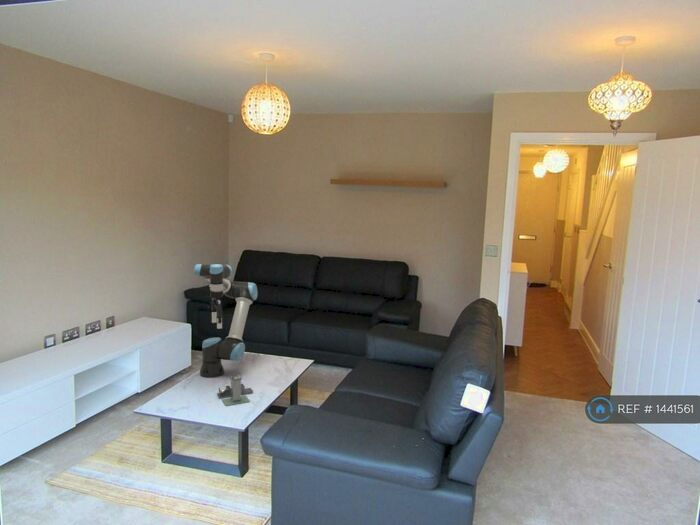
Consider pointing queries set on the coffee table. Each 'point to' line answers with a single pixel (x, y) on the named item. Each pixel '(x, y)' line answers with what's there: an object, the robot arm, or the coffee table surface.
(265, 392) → the coffee table surface
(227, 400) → the mat
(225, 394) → the silver metal blocks
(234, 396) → the bar
